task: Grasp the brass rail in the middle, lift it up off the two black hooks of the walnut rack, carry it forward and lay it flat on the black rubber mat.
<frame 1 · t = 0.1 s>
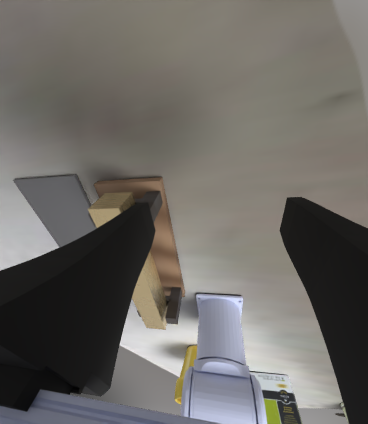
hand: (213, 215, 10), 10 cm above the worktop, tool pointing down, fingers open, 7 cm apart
tea box: (258, 376, 51), on the worktop
hook rack: (150, 247, 26), on the worktop
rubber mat: (85, 246, 28), on the worktop
plant pot: (200, 349, 46), on the worktop
brass rail: (144, 265, 23), point 3 cm above the worktop, touching hook rack
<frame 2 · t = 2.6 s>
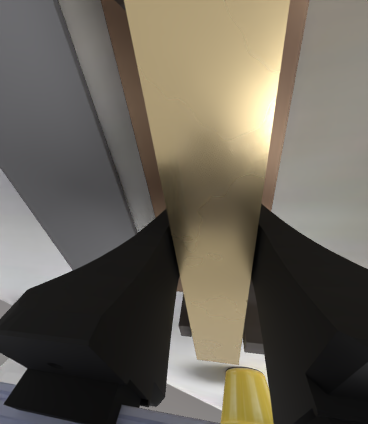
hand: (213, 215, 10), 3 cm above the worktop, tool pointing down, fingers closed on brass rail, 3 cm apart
hook rack: (208, 189, 12), on the worktop
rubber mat: (72, 195, 14), on the worktop
plant pot: (245, 372, 32), on the worktop
cup: (82, 312, 27), on the worktop
brass rail: (213, 216, 9), point 3 cm above the worktop, touching gripper, hook rack
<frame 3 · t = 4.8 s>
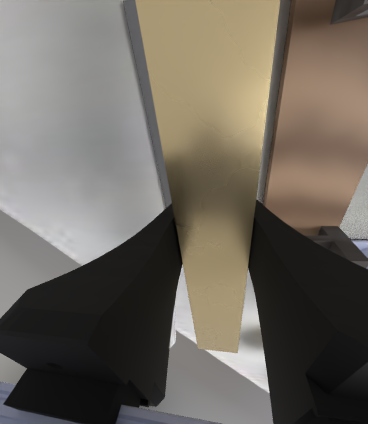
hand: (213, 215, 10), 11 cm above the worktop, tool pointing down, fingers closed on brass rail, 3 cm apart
hook rack: (315, 150, 16), on the worktop
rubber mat: (198, 160, 18), on the worktop
brass rail: (213, 210, 10), point 10 cm above the worktop, touching gripper
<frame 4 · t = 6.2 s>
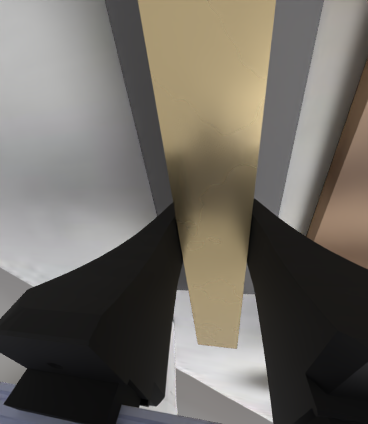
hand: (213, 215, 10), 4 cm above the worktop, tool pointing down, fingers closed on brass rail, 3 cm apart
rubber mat: (213, 187, 12), on the worktop
cup: (153, 316, 25), on the worktop
brass rail: (213, 207, 10), point 3 cm above the worktop, touching gripper
when the fingers open (2 cm above the worktop, at t = 7.3 s): brass rail stays where it is, resting on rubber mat.
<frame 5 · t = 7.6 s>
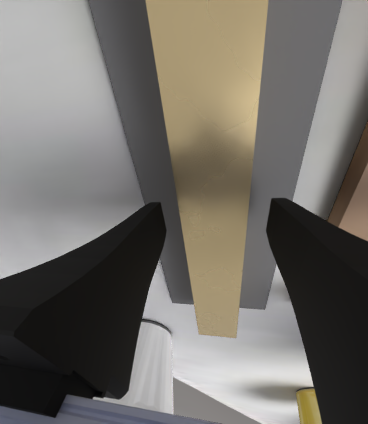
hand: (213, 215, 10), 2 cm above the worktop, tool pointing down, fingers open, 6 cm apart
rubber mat: (213, 198, 11), on the worktop
plant pot: (318, 392, 28), on the worktop
cup: (150, 328, 24), on the worktop
brass rail: (213, 201, 11), resting on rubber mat
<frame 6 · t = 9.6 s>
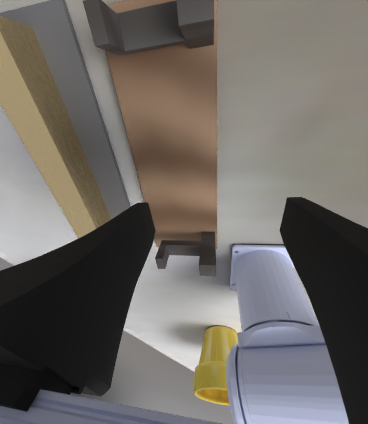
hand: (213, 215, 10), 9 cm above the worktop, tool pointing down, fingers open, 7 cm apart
hook rack: (176, 162, 18), on the worktop
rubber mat: (80, 168, 20), on the worktop
plant pot: (221, 331, 37), on the worktop
brass rail: (78, 170, 19), resting on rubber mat
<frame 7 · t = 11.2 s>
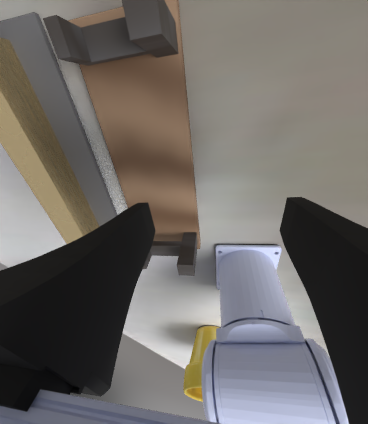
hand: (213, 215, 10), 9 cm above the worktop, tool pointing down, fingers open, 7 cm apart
hook rack: (155, 165, 18), on the worktop
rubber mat: (64, 172, 20), on the worktop
plant pot: (213, 331, 38), on the worktop
brass rail: (62, 174, 20), resting on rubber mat
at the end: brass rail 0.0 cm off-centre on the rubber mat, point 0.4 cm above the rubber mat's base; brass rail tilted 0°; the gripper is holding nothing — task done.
